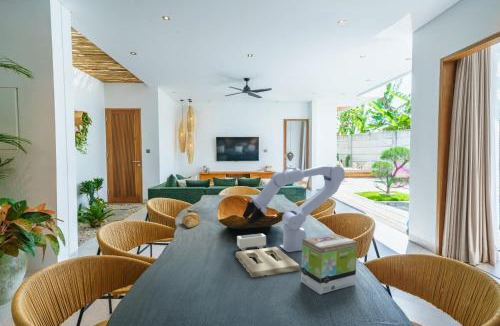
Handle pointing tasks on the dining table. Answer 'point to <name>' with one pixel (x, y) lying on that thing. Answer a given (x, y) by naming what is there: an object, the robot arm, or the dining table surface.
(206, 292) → the dining table surface
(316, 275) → the tea box
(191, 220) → the croissant
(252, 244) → the white and grey block
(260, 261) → the keyhole board
